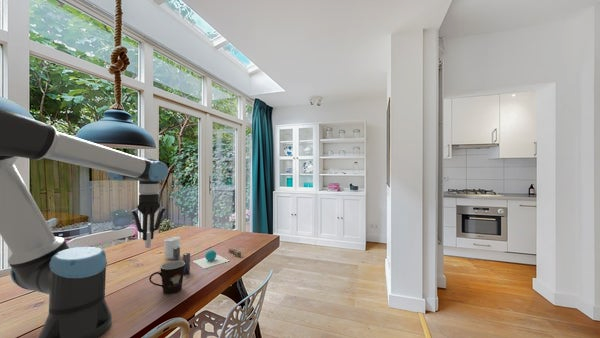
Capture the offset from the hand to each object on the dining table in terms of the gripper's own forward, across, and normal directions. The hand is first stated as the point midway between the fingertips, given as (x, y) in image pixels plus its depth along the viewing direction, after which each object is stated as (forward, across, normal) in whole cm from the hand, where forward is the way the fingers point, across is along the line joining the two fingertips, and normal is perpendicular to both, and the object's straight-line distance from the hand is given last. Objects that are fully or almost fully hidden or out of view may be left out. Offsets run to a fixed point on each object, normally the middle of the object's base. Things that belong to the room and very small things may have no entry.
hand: (147, 247), depth 101 cm
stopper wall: (+14, -43, 0) cm, 45 cm away
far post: (+14, -14, -6) cm, 21 cm away
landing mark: (+14, -29, 0) cm, 32 cm away
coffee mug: (+14, -3, +18) cm, 23 cm away
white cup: (+14, -17, -22) cm, 31 cm away
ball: (+11, -29, -1) cm, 31 cm away
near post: (+14, -14, +6) cm, 21 cm away
